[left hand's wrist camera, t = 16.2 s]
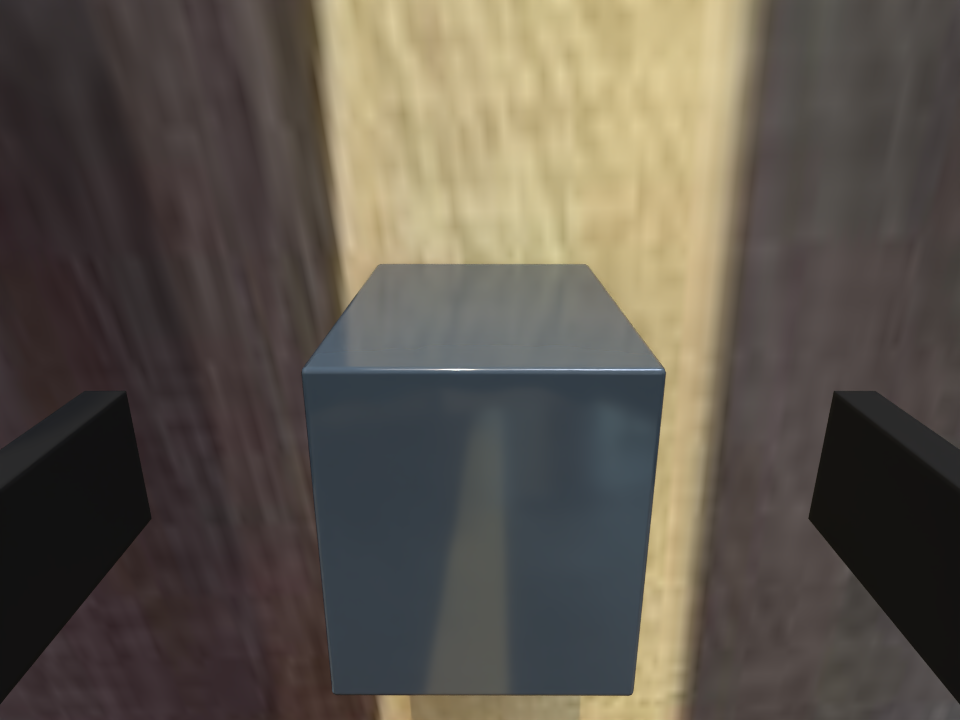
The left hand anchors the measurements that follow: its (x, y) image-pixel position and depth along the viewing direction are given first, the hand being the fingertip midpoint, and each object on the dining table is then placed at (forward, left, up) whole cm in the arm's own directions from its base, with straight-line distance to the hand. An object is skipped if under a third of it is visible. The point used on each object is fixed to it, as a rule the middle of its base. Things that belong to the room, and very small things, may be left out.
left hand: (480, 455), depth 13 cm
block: (0, 0, -4) cm, 4 cm away
